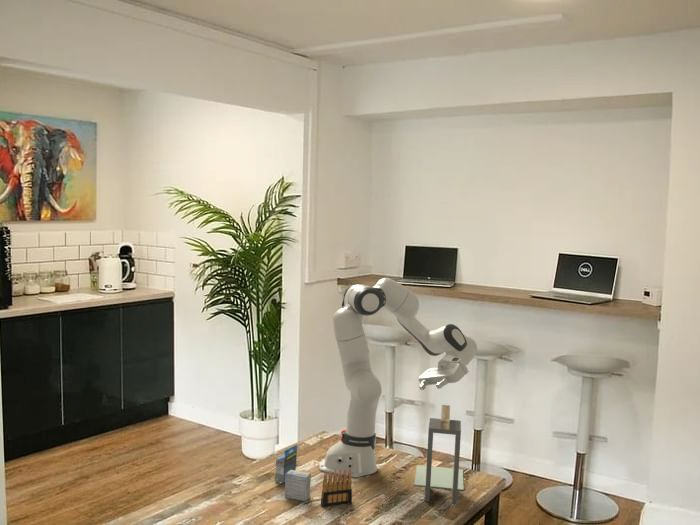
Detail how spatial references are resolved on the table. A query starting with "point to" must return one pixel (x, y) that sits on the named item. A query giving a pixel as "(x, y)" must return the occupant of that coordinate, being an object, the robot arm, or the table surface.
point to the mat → (438, 477)
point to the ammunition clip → (336, 489)
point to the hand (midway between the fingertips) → (429, 387)
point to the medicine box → (297, 485)
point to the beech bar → (445, 417)
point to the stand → (454, 430)
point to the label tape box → (285, 464)
